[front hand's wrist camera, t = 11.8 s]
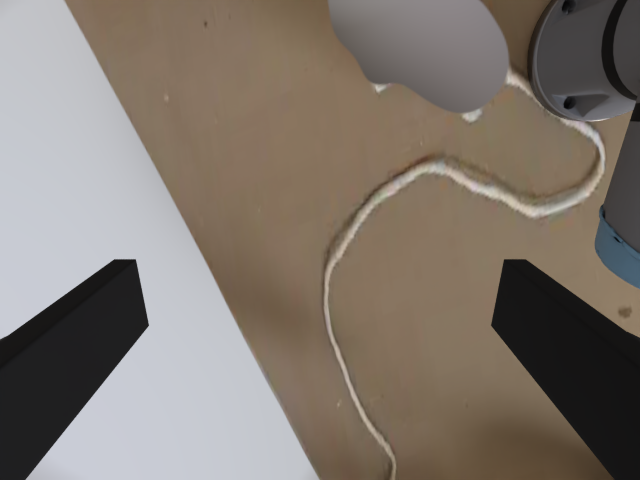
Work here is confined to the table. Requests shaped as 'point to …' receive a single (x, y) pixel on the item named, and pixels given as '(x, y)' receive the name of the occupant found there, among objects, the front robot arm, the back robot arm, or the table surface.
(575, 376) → the front robot arm
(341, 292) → the table surface
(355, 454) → the table surface
